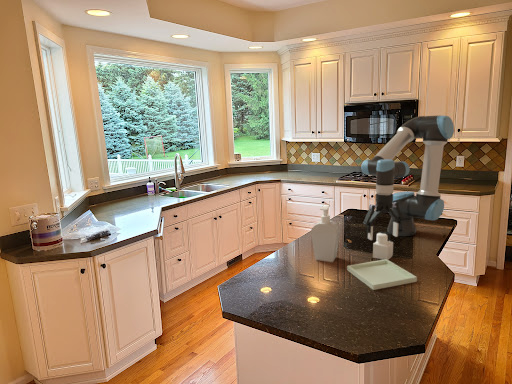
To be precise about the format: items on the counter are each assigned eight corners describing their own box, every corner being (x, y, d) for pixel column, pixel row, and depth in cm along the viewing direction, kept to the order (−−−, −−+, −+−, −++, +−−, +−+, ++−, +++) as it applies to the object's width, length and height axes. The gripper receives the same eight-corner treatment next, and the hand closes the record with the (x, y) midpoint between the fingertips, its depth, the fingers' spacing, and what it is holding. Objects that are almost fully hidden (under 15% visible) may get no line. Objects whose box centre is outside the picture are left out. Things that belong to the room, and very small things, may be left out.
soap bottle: (341, 255, 176) (341, 204, 170) (336, 263, 167) (336, 209, 161) (316, 252, 181) (316, 202, 176) (310, 260, 172) (310, 207, 167)
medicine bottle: (378, 253, 177) (378, 229, 174) (392, 256, 172) (393, 232, 170) (372, 257, 171) (373, 233, 169) (387, 261, 167) (388, 236, 164)
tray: (386, 263, 164) (386, 259, 164) (416, 281, 145) (416, 276, 145) (347, 270, 159) (347, 265, 159) (373, 289, 140) (373, 285, 140)
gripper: (402, 189, 172) (400, 232, 176) (355, 194, 166) (354, 238, 170) (413, 192, 165) (410, 236, 169) (365, 197, 159) (363, 243, 163)
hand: (382, 237), depth 170 cm, fingers open, 13 cm apart
